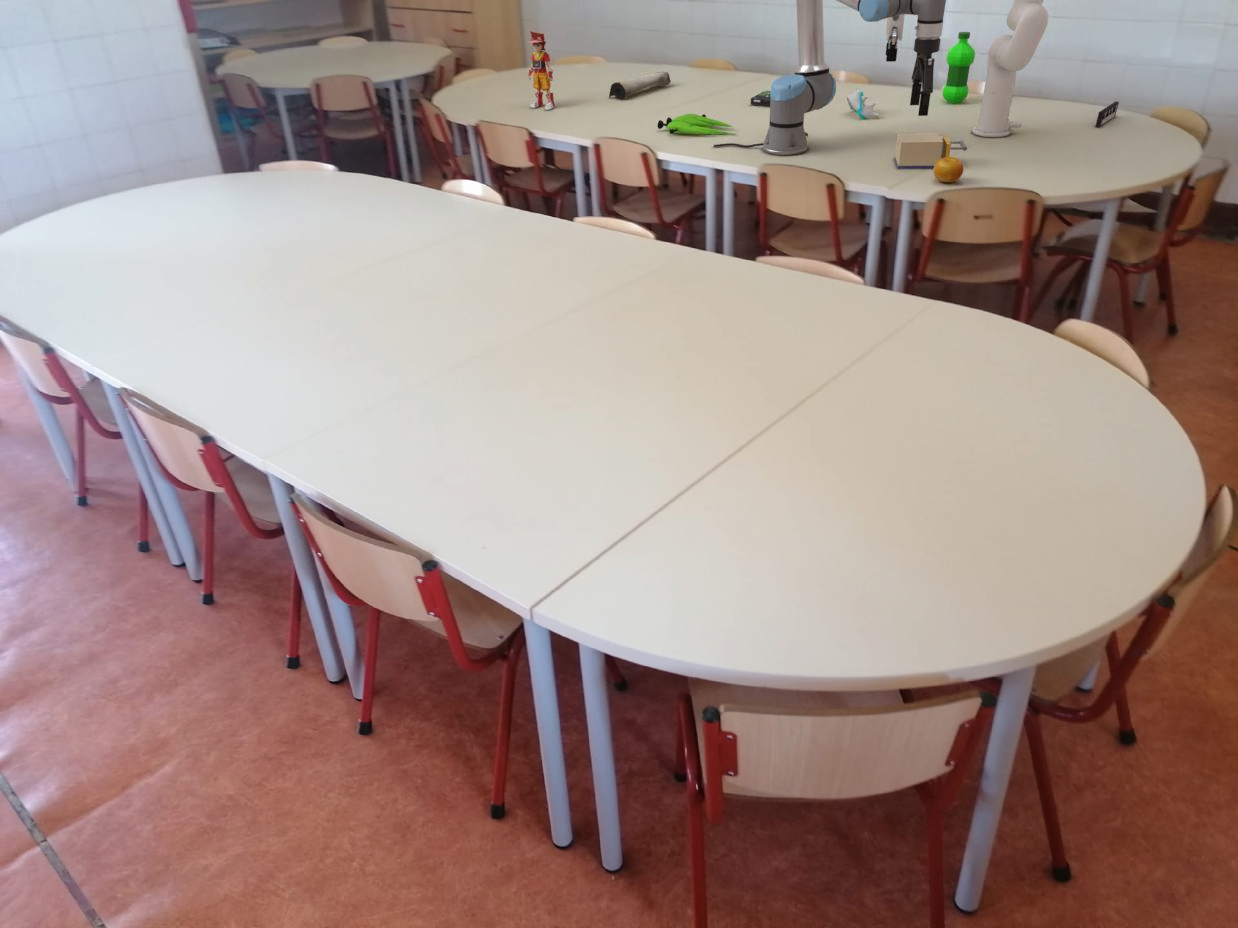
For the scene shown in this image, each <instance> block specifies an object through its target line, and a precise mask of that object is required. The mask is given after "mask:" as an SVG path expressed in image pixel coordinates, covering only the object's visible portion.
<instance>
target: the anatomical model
mask: <svg viewBox="0 0 1238 928" xmlns="http://www.w3.org/2000/svg"><path fill="white" fill-rule="evenodd" d="M863 96H864V91H861V90H860V88H856V89H855V91H854V92H853V93H852V94H848V95H847V96H846V101H847V105H848V106H849V108H850V110H852V111H854V112H856V113H857V115H858V116H859V118H860V119H861V120H866V119H868V118H878V117H880V115H881V114H880V113H879V112H875V111H874V108H875V107H876V106H877V103H875V102H874V103H871V104H868V105H866V104H865V102H866V100H867V99H868V96H865V97H863Z"/></svg>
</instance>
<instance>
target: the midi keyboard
mask: <svg viewBox="0 0 1238 928" xmlns="http://www.w3.org/2000/svg"><path fill="white" fill-rule="evenodd" d="M1119 103H1120V101H1117V100H1116V101H1113V102H1112V103H1111V104H1109V105H1107V106H1106V107H1104V108H1103V109H1101V110H1100V111H1098V114H1097V118H1096V122H1095V127H1096V128H1099V127H1101V126H1102V125H1104V124H1105V123H1106V122H1108V121H1109V120H1111V119H1113V118H1114V117H1116V115H1117V111H1118V107H1119Z"/></svg>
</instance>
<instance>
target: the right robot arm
mask: <svg viewBox="0 0 1238 928" xmlns="http://www.w3.org/2000/svg"><path fill="white" fill-rule="evenodd" d="M1044 1H1045V0H1014V1H1013V3H1012V5H1011V7H1010V9H1009V12H1008V14H1007V16H1006V25H1007V27H1008V29H1010V30H1011V31H1012V32H1013V34H1012V35H1011V34H1002V35H999V36H997V37H996V38H995V39H993V41H992V42H991V44H990V46H989V48H988V51H987V62H986V63H987V64H986V65H987V67H986V77H985V81H984V82H985V83H984V88H983V96H982V100H981V106H980V110H979V111H980V112H979V117H978V123H977V126H974V127H973V128H972V134H974V135H976V136H979V137H986V138H1002V137H1007V136H1009V135H1010V134H1011V130H1012V129H1021V128H1022V123H1023V122H1022V121H1021V122H1020V121H1019V122H1017V121H1015V120H1013V121H1010V119H1009V117H1010V110H1011V106H1012V100H1013V95H1014V91H1015V90H1014V89H1015V85H1016V79H1017V72H1019V71H1021V70H1023V69H1024V68H1025V67H1026V66H1027V65H1029V63H1030V62H1031V60H1032V58H1033V56H1034V54H1035V52H1036V51H1037V48H1038V46H1039V44H1040V42H1041V40H1042V38H1043V36H1044V34H1045V31H1046V29H1047V27H1048V23H1049V13H1048V10H1047V8H1046V7H1045V6H1044V5H1043V3H1044ZM905 15H906V14H901V15H897V16H893V17H889V18H886V29H885V30H886V35H885V36H886V41H887V42H886V47H885V56H886V58H885V61H886V62H887V63H888V62H893V63H894V62H896V61H897V57H898V56H897V55H898V50H899V49H898V41H899V42H901V41H903V33H904V23H905Z"/></svg>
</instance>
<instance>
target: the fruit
mask: <svg viewBox="0 0 1238 928" xmlns="http://www.w3.org/2000/svg"><path fill="white" fill-rule="evenodd" d="M964 170H965V169H964V164H963V162H962V161H961V160H960V159H959V158H957V157H955V156H949V157H945V158H942V159H940V160H939V161H937V163H936V164H935V166H934V168H933V177H935V179H936V180H937V181H938V182H941V183H954V182H956V181H958V180H959V179H960V178H961V177H962V175H963V173H964Z"/></svg>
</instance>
